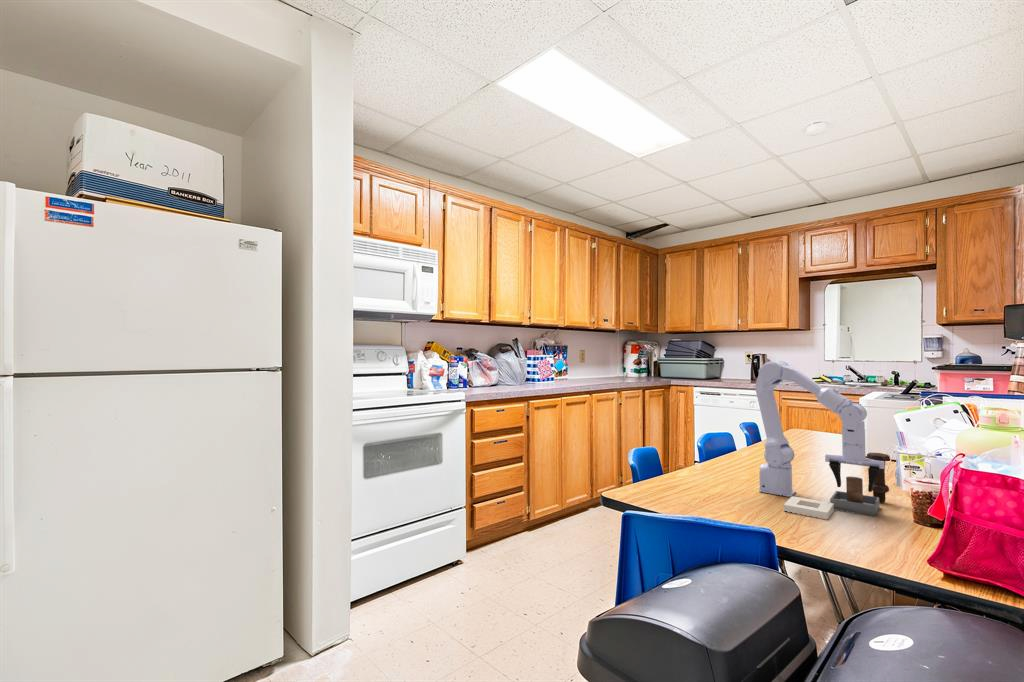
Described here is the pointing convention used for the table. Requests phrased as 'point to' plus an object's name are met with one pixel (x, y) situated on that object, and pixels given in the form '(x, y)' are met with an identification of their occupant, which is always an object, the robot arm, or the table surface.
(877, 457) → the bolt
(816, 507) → the socket block
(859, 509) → the tray
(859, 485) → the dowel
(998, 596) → the table surface
